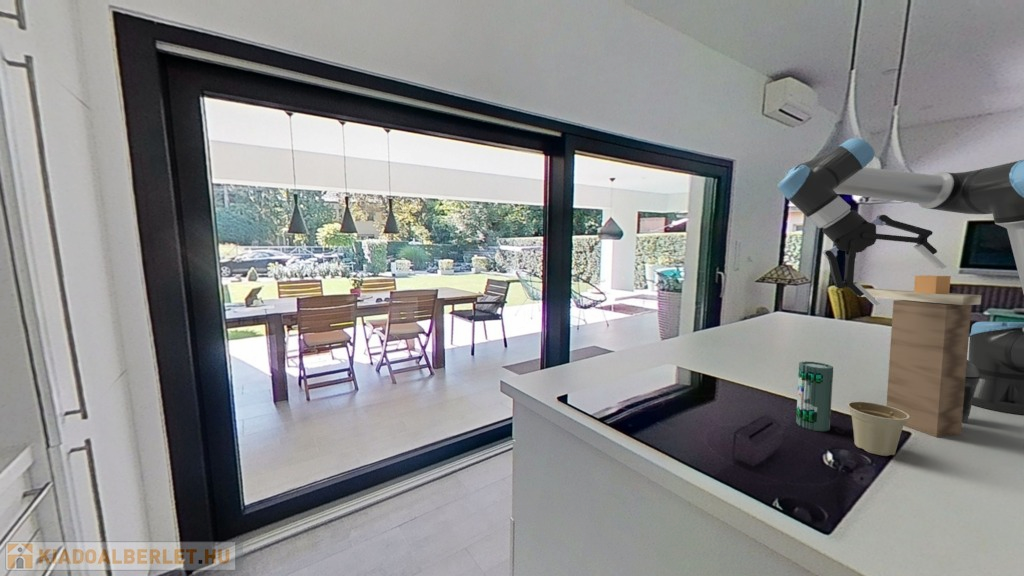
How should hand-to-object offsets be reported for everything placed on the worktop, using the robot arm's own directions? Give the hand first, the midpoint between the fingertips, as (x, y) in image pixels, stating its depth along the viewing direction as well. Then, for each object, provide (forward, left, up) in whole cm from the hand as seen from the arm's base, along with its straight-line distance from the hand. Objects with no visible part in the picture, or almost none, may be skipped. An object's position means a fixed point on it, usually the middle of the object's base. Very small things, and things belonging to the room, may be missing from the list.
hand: (908, 286), depth 87 cm
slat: (-6, -3, -4) cm, 8 cm away
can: (+19, -5, -34) cm, 39 cm away
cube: (-6, 0, -2) cm, 6 cm away
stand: (-6, 0, -34) cm, 34 cm away
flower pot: (+17, +7, -34) cm, 39 cm away
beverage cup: (-19, -2, -34) cm, 39 cm away
